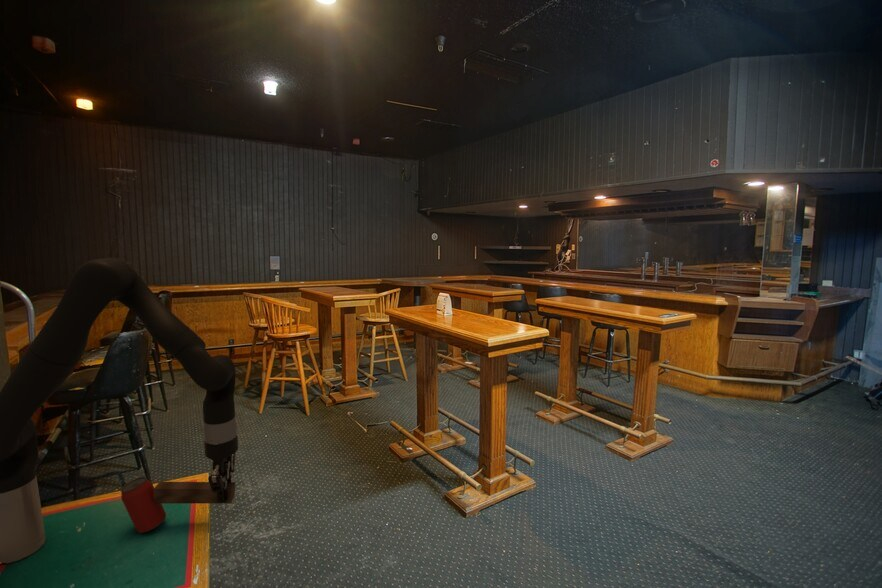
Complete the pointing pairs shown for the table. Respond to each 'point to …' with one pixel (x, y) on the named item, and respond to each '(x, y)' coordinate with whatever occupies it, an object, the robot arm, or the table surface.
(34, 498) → the robot arm
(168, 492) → the walnut plank
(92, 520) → the table surface
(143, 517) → the beer can
